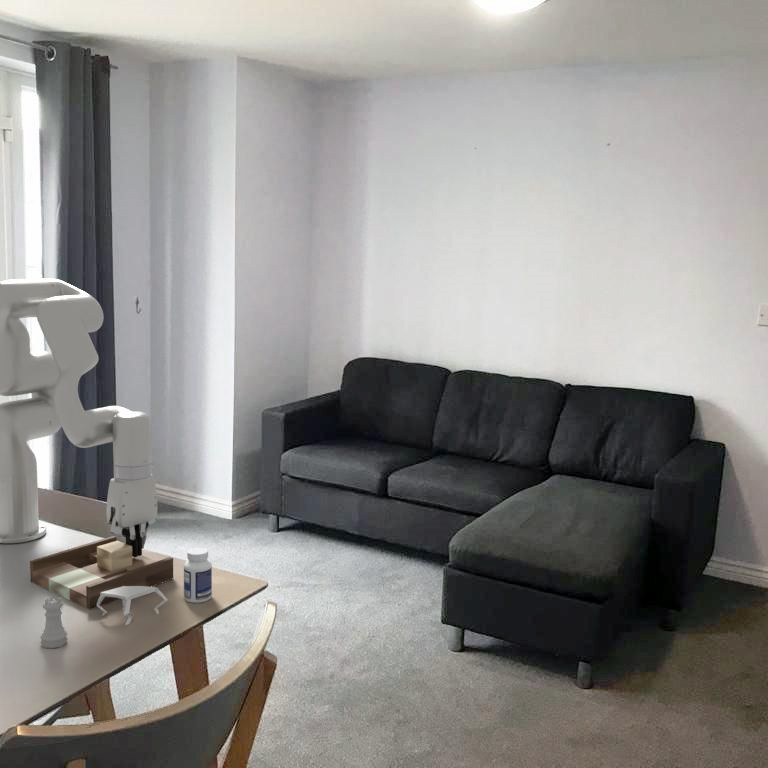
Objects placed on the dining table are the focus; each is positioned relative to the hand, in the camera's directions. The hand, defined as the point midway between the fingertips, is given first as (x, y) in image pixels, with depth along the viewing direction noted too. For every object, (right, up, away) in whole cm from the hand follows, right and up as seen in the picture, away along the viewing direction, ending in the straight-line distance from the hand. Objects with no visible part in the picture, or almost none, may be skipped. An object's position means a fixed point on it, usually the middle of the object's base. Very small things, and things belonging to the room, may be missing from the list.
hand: (134, 554), depth 182 cm
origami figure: (+6, -8, -21) cm, 23 cm away
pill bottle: (+16, -6, -12) cm, 21 cm away
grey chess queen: (-4, -9, -33) cm, 34 cm away
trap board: (-5, -4, -5) cm, 8 cm away
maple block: (-3, -1, -4) cm, 5 cm away
